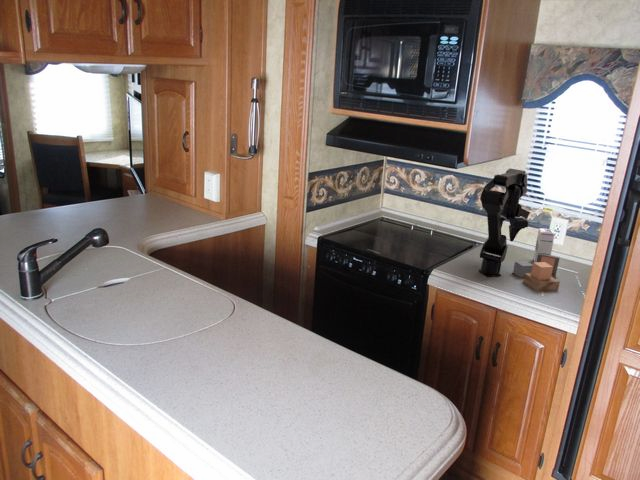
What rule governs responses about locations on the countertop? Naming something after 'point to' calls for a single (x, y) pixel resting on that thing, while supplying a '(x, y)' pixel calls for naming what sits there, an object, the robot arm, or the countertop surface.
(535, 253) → the syrup box
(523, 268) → the slate cube
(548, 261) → the swatch sign
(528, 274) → the base block
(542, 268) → the terracotta cube
